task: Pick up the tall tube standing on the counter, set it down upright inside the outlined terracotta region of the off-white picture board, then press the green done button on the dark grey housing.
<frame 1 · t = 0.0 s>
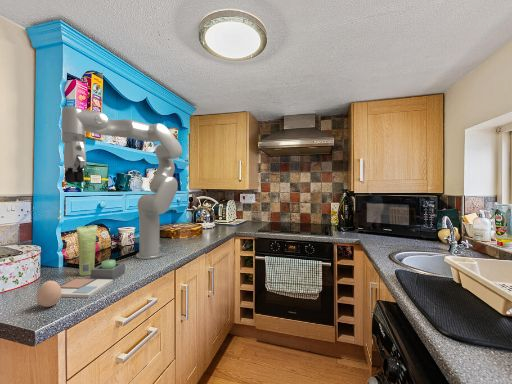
hand: (74, 182, 100), 37 cm above the worktop, tool pointing down, fingers open, 9 cm apart
button housing: (108, 276, 99), on the worktop
button: (108, 266, 99), point 4 cm above the worktop, slide at 0.0 cm
board: (81, 288, 87), on the worktop
tube: (87, 274, 101), on the worktop
egg: (49, 306, 75), on the worktop
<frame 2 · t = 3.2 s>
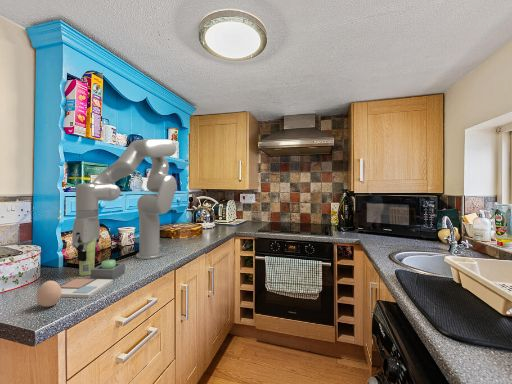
hand: (87, 258, 101), 6 cm above the worktop, tool pointing down, fingers closed on tube, 5 cm apart
tube: (87, 274, 101), on the worktop, touching gripper
everything else where it was.
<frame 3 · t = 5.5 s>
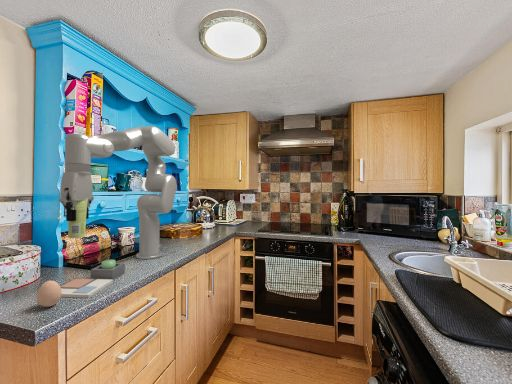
hand: (77, 219, 90), 24 cm above the worktop, tool pointing down, fingers closed on tube, 5 cm apart
tube: (77, 237, 90), point 17 cm above the worktop, touching gripper
everything else where it was.
when the fingers open (9 cm above the worktop, at t = 8.3 s): tube drops 1 cm, resting on board.
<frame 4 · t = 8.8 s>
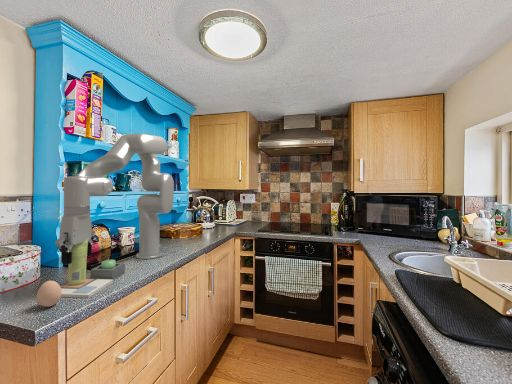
hand: (77, 259, 89), 10 cm above the worktop, tool pointing down, fingers open, 9 cm apart
tube: (78, 283, 89), point 1 cm above the worktop, touching board
everything else where it was.
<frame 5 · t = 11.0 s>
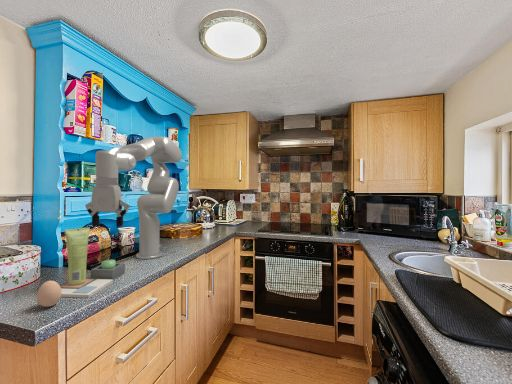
hand: (107, 226, 98), 20 cm above the worktop, tool pointing down, fingers open, 9 cm apart
nothing on the worktop moved.
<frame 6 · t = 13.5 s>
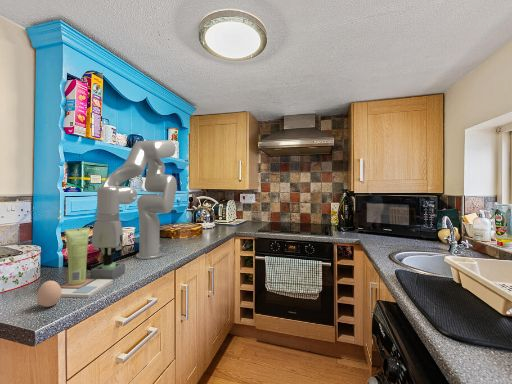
hand: (108, 264, 99), 5 cm above the worktop, tool pointing down, fingers closed
button: (108, 269, 99), point 3 cm above the worktop, slide at 1.1 cm
everything else where it was.
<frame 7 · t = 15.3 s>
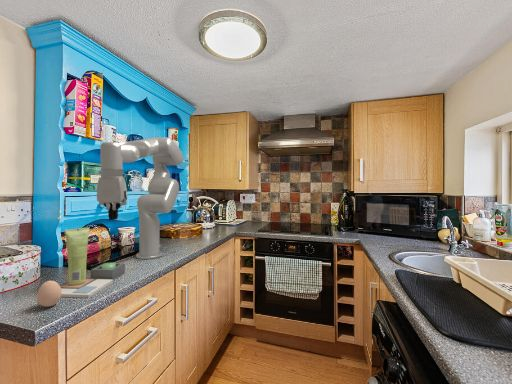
hand: (113, 219, 101), 22 cm above the worktop, tool pointing down, fingers closed
nothing on the worktop moved.
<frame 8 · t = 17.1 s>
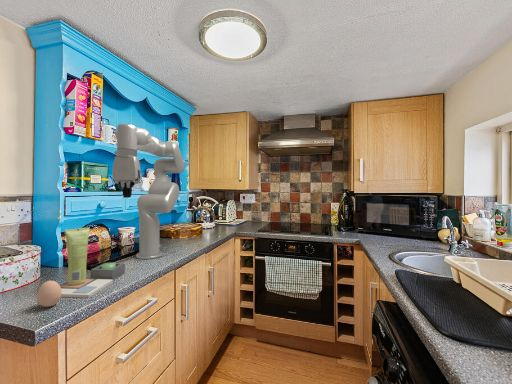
hand: (127, 197, 106), 31 cm above the worktop, tool pointing down, fingers closed
nothing on the worktop moved.
at the end: tube inside the target area on the board (0.3 cm from its centre), point 1.0 cm above the board's base; tube tilted 0°; button slide at 1.2 cm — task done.
